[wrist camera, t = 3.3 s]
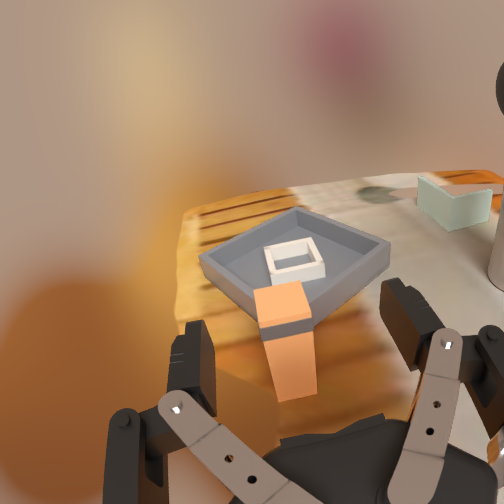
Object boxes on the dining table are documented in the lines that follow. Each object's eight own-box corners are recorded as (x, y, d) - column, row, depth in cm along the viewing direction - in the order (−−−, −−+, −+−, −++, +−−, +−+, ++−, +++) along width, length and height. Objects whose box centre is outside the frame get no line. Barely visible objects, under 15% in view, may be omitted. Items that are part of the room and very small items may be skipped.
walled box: (298, 226, 65) (296, 206, 63) (389, 266, 49) (390, 242, 46) (205, 277, 56) (198, 255, 54) (286, 346, 40) (282, 322, 37)
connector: (272, 371, 37) (252, 289, 30) (309, 363, 37) (300, 279, 30) (277, 403, 33) (257, 323, 26) (318, 394, 33) (312, 311, 26)
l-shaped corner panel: (488, 223, 54) (492, 190, 50) (448, 234, 53) (452, 198, 50) (455, 200, 64) (458, 170, 60) (416, 209, 64) (417, 176, 60)
